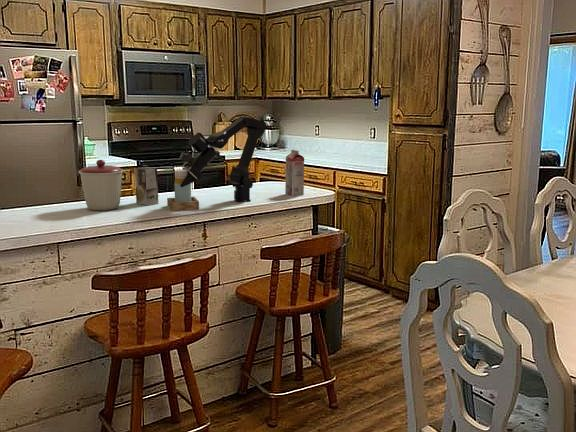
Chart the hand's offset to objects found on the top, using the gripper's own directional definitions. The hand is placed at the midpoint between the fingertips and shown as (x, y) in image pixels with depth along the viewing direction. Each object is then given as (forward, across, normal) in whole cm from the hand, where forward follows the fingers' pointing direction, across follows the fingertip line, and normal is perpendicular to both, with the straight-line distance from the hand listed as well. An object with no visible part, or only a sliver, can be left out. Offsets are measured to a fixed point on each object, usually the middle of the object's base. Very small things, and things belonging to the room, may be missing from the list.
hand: (179, 184), depth 243 cm
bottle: (+5, 0, +8) cm, 9 cm away
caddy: (+6, 0, +8) cm, 10 cm away
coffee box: (+16, -14, -2) cm, 21 cm away
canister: (+30, -7, -15) cm, 34 cm away
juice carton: (-35, -18, +49) cm, 63 cm away
